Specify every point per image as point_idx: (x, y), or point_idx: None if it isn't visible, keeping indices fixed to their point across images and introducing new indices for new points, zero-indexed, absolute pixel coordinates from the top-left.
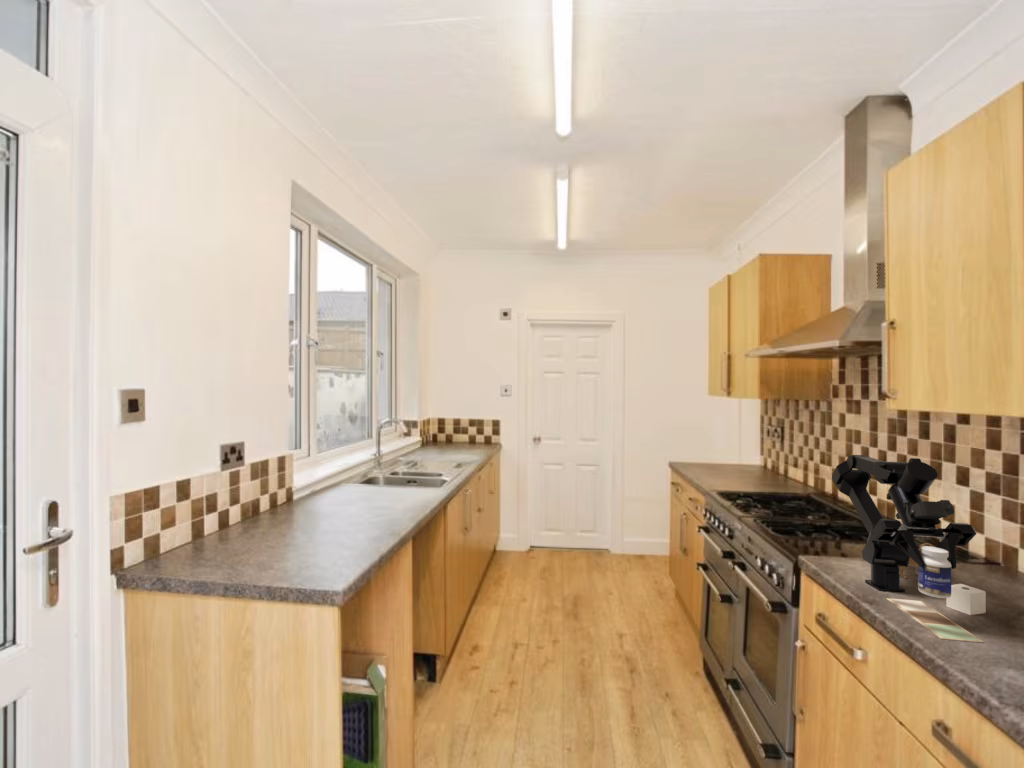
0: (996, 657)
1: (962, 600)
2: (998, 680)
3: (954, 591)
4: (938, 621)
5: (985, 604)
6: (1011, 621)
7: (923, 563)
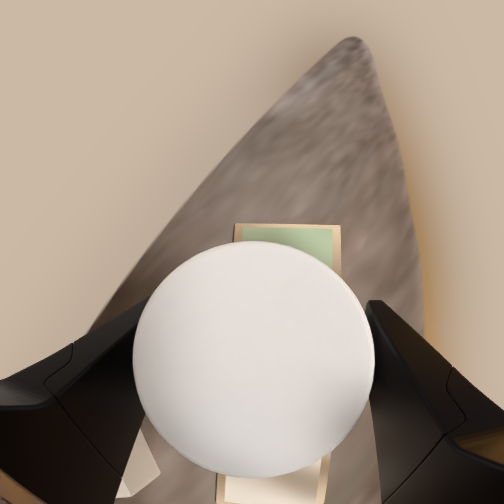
0: (263, 154)
1: None
2: (325, 79)
3: (125, 469)
4: None
5: None
6: None
7: (376, 302)
